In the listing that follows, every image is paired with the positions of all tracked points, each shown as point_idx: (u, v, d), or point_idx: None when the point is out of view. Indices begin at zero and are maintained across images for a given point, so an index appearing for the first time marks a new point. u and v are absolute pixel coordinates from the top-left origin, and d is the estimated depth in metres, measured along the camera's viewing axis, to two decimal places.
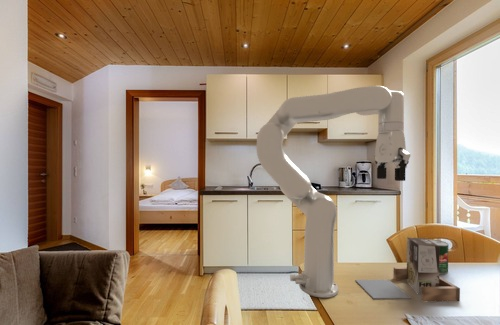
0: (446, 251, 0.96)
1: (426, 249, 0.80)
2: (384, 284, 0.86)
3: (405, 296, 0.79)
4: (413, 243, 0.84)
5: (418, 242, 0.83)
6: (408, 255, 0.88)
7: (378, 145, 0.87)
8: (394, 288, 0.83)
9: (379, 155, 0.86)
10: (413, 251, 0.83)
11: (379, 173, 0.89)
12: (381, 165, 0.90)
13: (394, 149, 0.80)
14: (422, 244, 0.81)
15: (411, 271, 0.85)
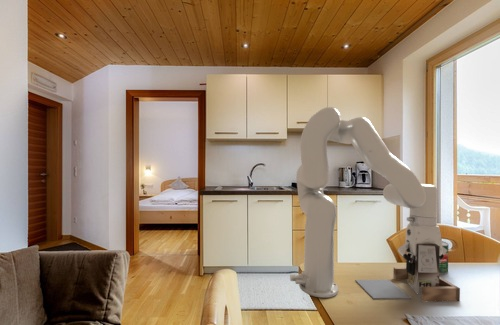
0: None
1: (426, 249, 0.80)
2: (384, 284, 0.86)
3: (405, 296, 0.79)
4: None
5: None
6: None
7: (421, 239, 0.81)
8: (394, 288, 0.83)
9: None
10: None
11: None
12: None
13: None
14: (422, 244, 0.81)
15: None
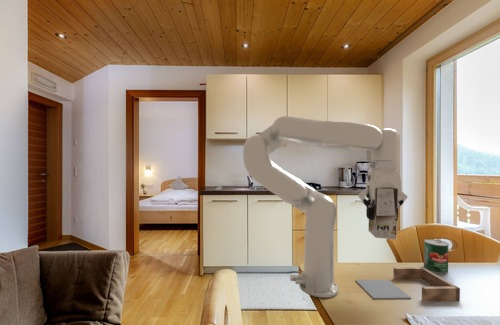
0: (446, 251, 0.96)
1: (384, 192, 0.80)
2: (384, 284, 0.86)
3: (405, 296, 0.79)
4: None
5: None
6: None
7: (380, 183, 0.81)
8: (394, 288, 0.83)
9: None
10: None
11: None
12: None
13: None
14: (381, 188, 0.81)
15: None
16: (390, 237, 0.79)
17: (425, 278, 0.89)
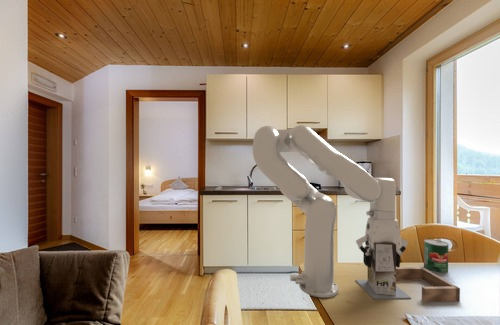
0: (446, 251, 0.96)
1: (383, 248, 0.80)
2: None
3: (405, 296, 0.79)
4: None
5: None
6: None
7: (379, 233, 0.81)
8: None
9: None
10: None
11: None
12: None
13: None
14: (380, 243, 0.81)
15: (370, 270, 0.85)
16: (390, 293, 0.79)
17: (425, 278, 0.89)
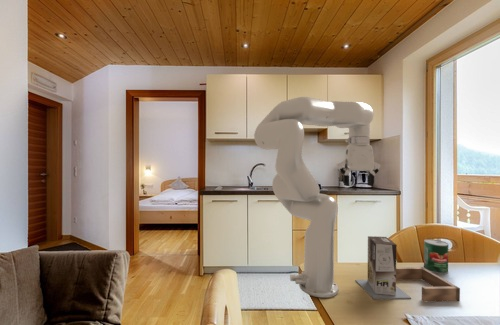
0: (446, 251, 0.96)
1: (383, 248, 0.79)
2: None
3: (405, 296, 0.79)
4: (372, 242, 0.83)
5: (377, 241, 0.83)
6: (368, 254, 0.87)
7: (355, 155, 0.96)
8: None
9: (357, 164, 0.96)
10: (372, 250, 0.83)
11: None
12: None
13: None
14: (380, 243, 0.81)
15: (370, 270, 0.84)
16: (390, 293, 0.79)
17: (425, 278, 0.89)
